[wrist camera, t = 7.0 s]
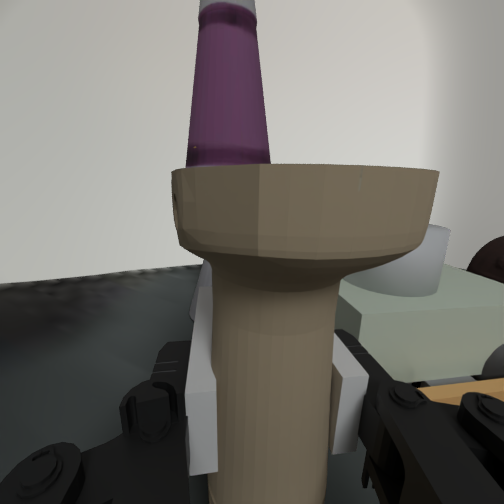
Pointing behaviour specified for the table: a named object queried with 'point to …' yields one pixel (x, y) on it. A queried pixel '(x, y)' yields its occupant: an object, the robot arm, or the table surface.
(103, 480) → the robot arm
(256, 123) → the lamp
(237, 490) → the handle
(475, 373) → the grey and tan pieces
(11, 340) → the table surface
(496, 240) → the dark brown irregular lump
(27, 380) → the table surface
